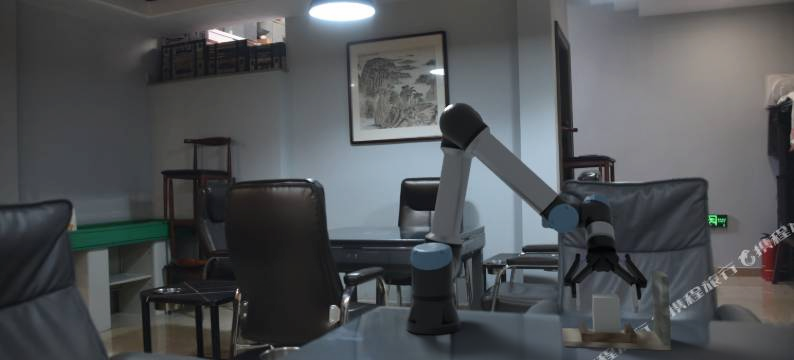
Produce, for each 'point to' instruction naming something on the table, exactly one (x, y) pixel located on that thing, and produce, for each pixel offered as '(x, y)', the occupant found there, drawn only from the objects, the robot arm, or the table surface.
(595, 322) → the grey upright block
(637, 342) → the display stand
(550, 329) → the table surface
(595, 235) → the robot arm
